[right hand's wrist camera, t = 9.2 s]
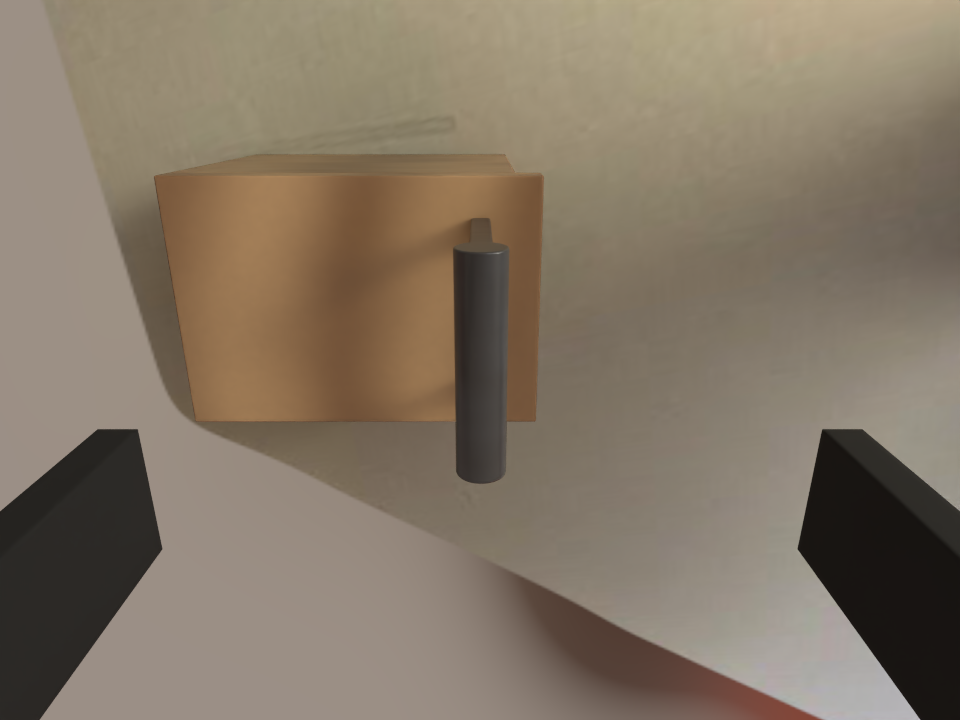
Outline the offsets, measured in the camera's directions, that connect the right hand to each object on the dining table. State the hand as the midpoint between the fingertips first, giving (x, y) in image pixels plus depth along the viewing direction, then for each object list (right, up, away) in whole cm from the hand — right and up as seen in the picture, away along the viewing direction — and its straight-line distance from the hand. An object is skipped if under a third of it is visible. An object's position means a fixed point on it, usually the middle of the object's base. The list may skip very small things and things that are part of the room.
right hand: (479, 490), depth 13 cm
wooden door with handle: (-5, +5, +13) cm, 15 cm away
